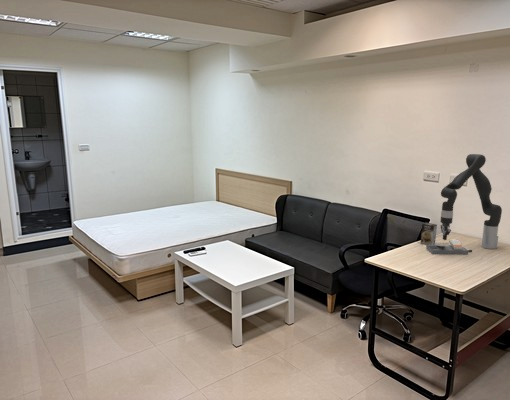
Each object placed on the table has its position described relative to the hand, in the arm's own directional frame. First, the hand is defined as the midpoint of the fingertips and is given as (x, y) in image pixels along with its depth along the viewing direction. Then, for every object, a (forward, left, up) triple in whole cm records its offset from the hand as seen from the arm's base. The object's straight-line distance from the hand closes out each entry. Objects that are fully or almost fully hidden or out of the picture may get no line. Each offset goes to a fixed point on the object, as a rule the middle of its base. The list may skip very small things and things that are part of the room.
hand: (444, 239), depth 277 cm
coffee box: (+3, -22, -11) cm, 25 cm away
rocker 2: (-10, -4, -5) cm, 12 cm away
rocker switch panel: (-7, -4, -10) cm, 13 cm away
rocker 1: (0, -4, -5) cm, 6 cm away
